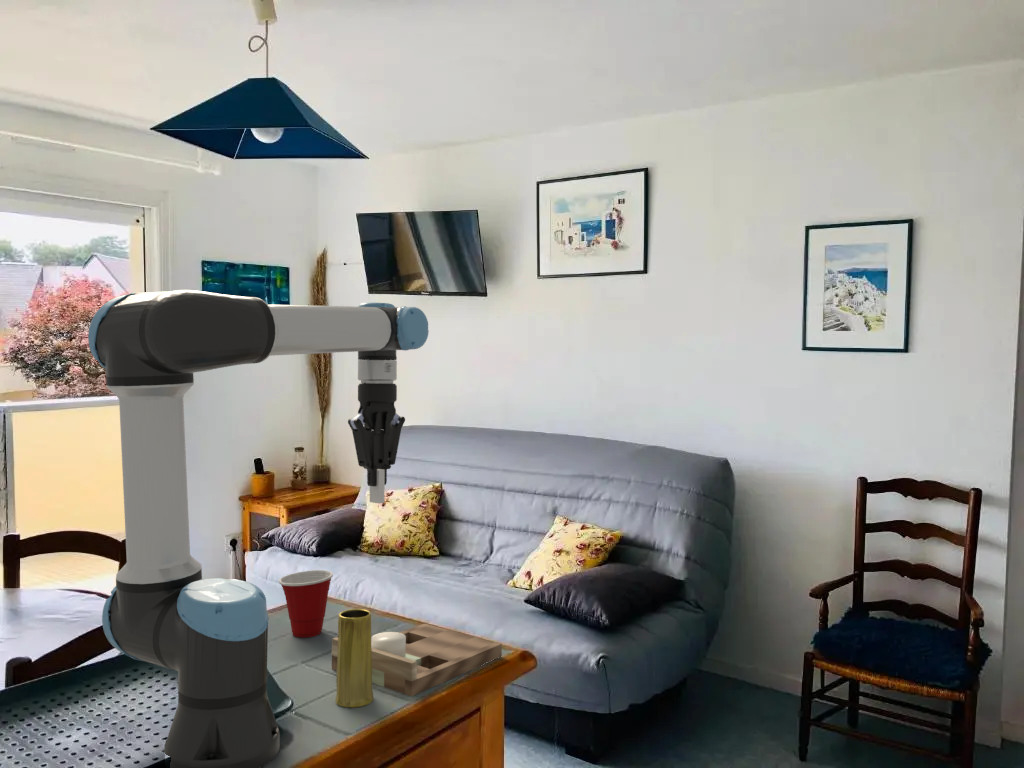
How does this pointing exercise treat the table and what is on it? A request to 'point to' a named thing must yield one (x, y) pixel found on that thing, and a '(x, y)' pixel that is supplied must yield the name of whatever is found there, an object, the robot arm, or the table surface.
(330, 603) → the table surface
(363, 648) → the vase
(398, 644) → the white rounded block
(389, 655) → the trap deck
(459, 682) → the table surface
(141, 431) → the robot arm
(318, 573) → the plastic cup
